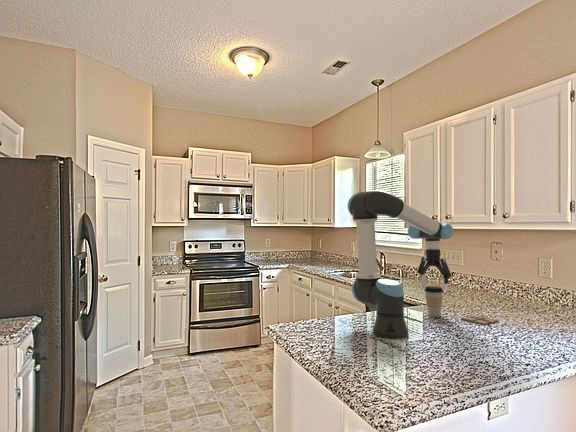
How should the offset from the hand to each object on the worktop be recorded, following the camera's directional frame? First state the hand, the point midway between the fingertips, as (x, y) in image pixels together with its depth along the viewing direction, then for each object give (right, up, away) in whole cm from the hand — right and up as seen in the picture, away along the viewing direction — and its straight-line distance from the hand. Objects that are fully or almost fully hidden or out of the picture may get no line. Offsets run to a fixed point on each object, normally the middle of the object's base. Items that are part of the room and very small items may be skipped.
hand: (434, 288), depth 190 cm
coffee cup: (0, -15, -1) cm, 15 cm away
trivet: (+18, -14, -13) cm, 26 cm away
